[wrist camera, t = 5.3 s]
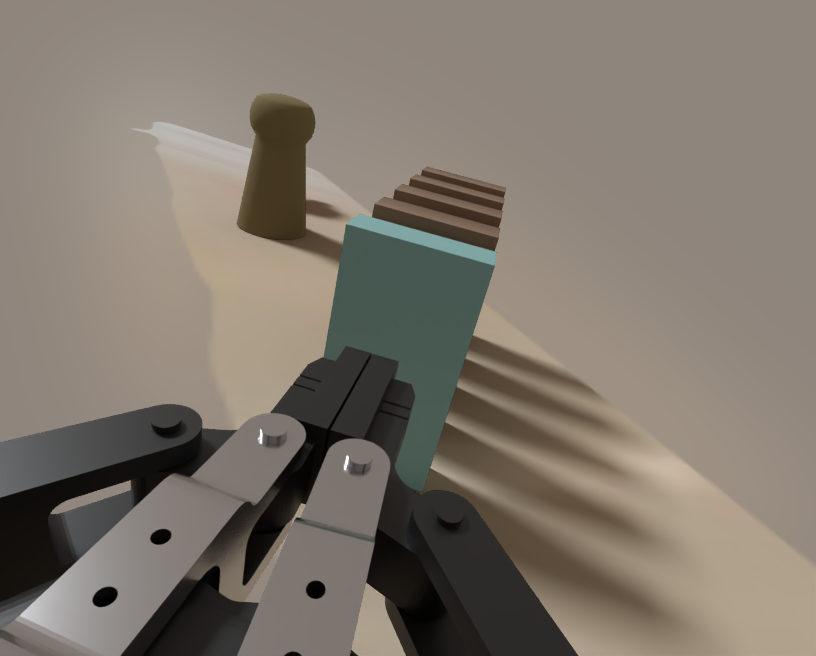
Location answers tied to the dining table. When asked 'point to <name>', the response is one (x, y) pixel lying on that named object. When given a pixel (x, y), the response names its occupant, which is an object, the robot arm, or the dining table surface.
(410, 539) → the robot arm
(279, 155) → the cork
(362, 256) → the domino
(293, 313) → the dining table surface
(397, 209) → the domino
